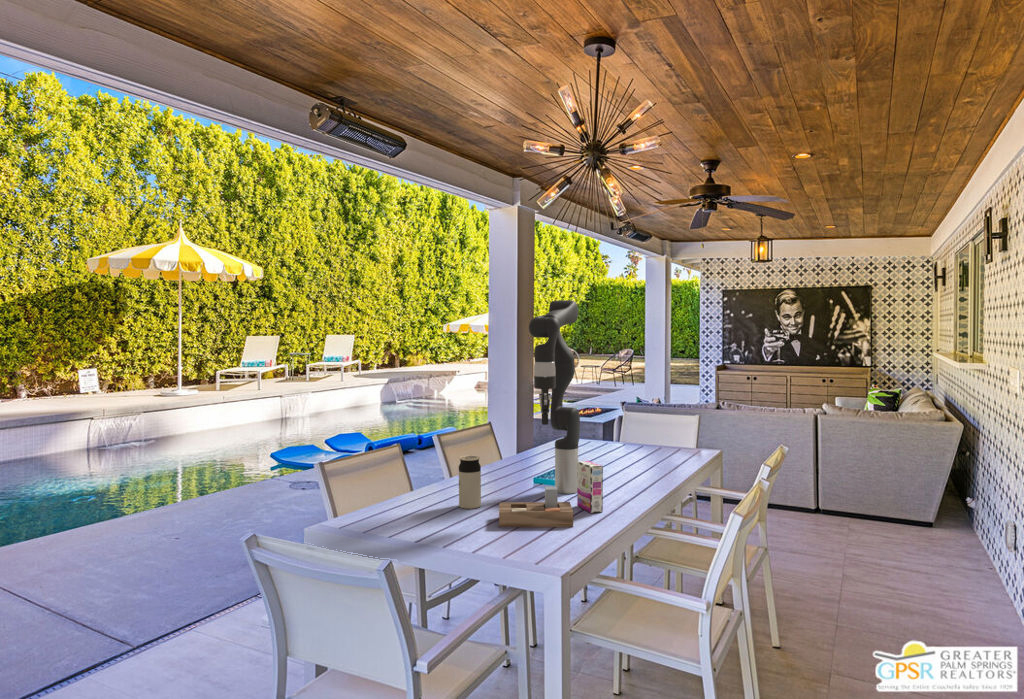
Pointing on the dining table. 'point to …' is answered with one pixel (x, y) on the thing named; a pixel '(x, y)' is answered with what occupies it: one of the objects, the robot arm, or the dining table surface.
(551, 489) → the plug
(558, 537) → the dining table surface
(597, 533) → the dining table surface
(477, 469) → the travel mug
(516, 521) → the socket block
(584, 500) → the candy bar box
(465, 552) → the dining table surface
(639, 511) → the dining table surface
